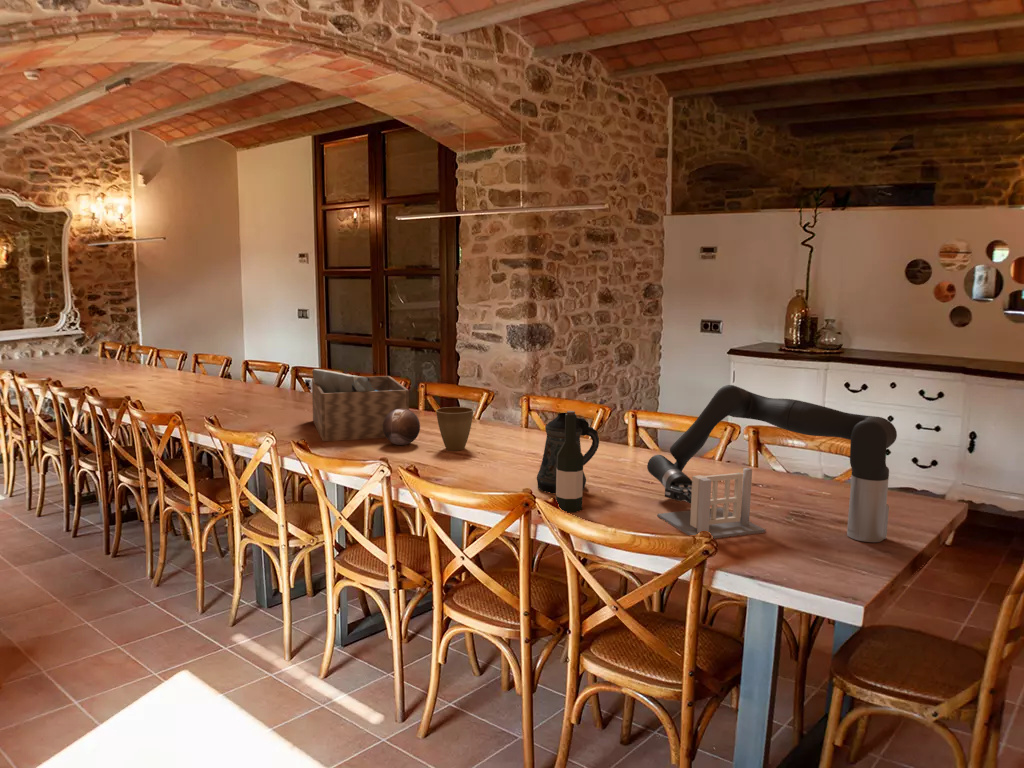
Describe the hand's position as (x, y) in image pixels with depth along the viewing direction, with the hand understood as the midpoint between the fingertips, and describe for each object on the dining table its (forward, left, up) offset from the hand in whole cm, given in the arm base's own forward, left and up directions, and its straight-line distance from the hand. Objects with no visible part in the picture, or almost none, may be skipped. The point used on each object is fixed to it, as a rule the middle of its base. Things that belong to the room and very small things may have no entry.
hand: (694, 501), depth 217 cm
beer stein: (+17, -51, -9) cm, 55 cm away
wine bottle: (+25, -29, -9) cm, 40 cm away
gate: (-6, +2, -6) cm, 9 cm away
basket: (+68, -166, -8) cm, 180 cm away
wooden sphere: (+57, -128, -9) cm, 141 cm away
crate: (+69, -166, -8) cm, 180 cm away
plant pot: (+38, -115, -9) cm, 122 cm away
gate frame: (-8, -4, -8) cm, 12 cm away
